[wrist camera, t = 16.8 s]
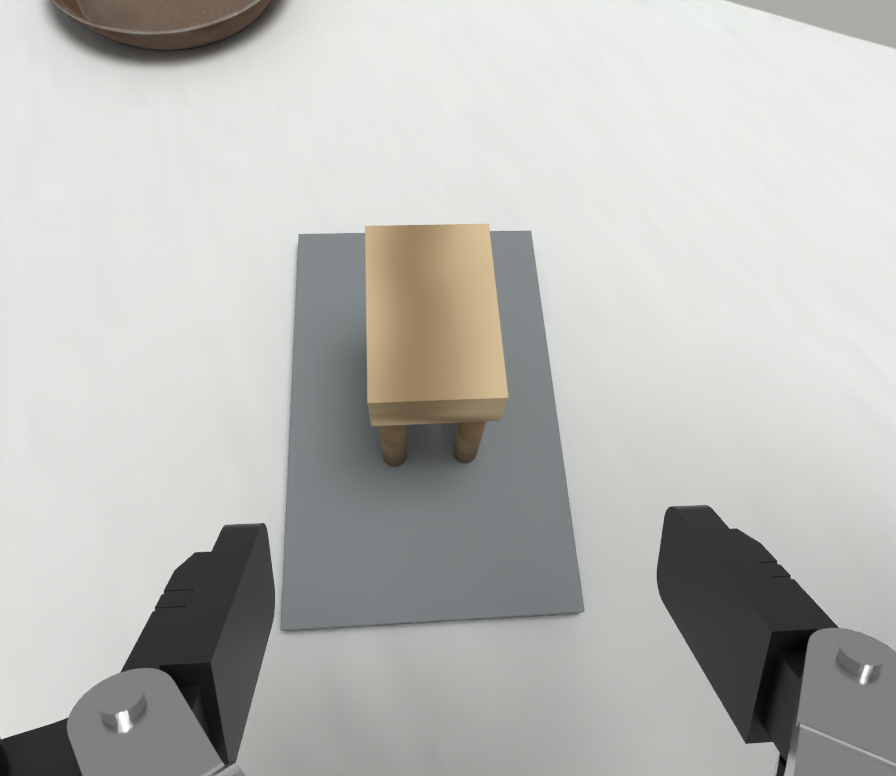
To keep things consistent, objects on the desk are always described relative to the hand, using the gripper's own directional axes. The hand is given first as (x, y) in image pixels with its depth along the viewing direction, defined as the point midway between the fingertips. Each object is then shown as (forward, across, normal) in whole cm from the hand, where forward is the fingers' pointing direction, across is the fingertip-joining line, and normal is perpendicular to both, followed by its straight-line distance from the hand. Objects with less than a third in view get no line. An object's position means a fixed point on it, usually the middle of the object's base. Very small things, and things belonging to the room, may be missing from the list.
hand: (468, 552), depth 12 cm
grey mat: (+21, 0, +6) cm, 22 cm away
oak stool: (+20, 0, +5) cm, 21 cm away
